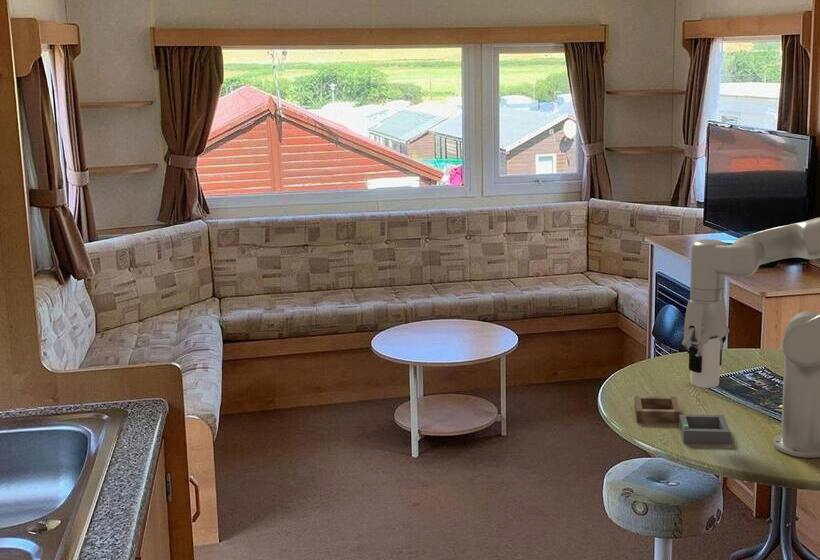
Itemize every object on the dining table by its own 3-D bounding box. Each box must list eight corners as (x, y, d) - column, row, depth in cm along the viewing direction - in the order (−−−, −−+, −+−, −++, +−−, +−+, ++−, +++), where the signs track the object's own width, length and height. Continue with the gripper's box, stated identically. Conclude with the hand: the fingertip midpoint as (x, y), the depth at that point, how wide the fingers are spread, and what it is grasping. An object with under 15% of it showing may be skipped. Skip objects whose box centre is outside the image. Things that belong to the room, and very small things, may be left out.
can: (700, 390, 218) (701, 340, 215) (684, 381, 224) (686, 333, 222) (724, 386, 220) (726, 337, 217) (708, 378, 226) (710, 329, 223)
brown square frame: (676, 407, 242) (676, 396, 242) (680, 423, 232) (680, 411, 232) (634, 407, 244) (634, 396, 244) (636, 422, 234) (636, 411, 234)
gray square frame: (723, 426, 229) (723, 412, 228) (729, 444, 219) (730, 429, 218) (679, 425, 231) (679, 411, 230) (683, 442, 221) (683, 428, 220)
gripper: (717, 284, 225) (715, 356, 229) (669, 297, 215) (667, 372, 220) (744, 290, 219) (741, 363, 223) (695, 303, 209) (693, 380, 213)
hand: (705, 367), depth 221 cm, fingers closed on can, 6 cm apart
